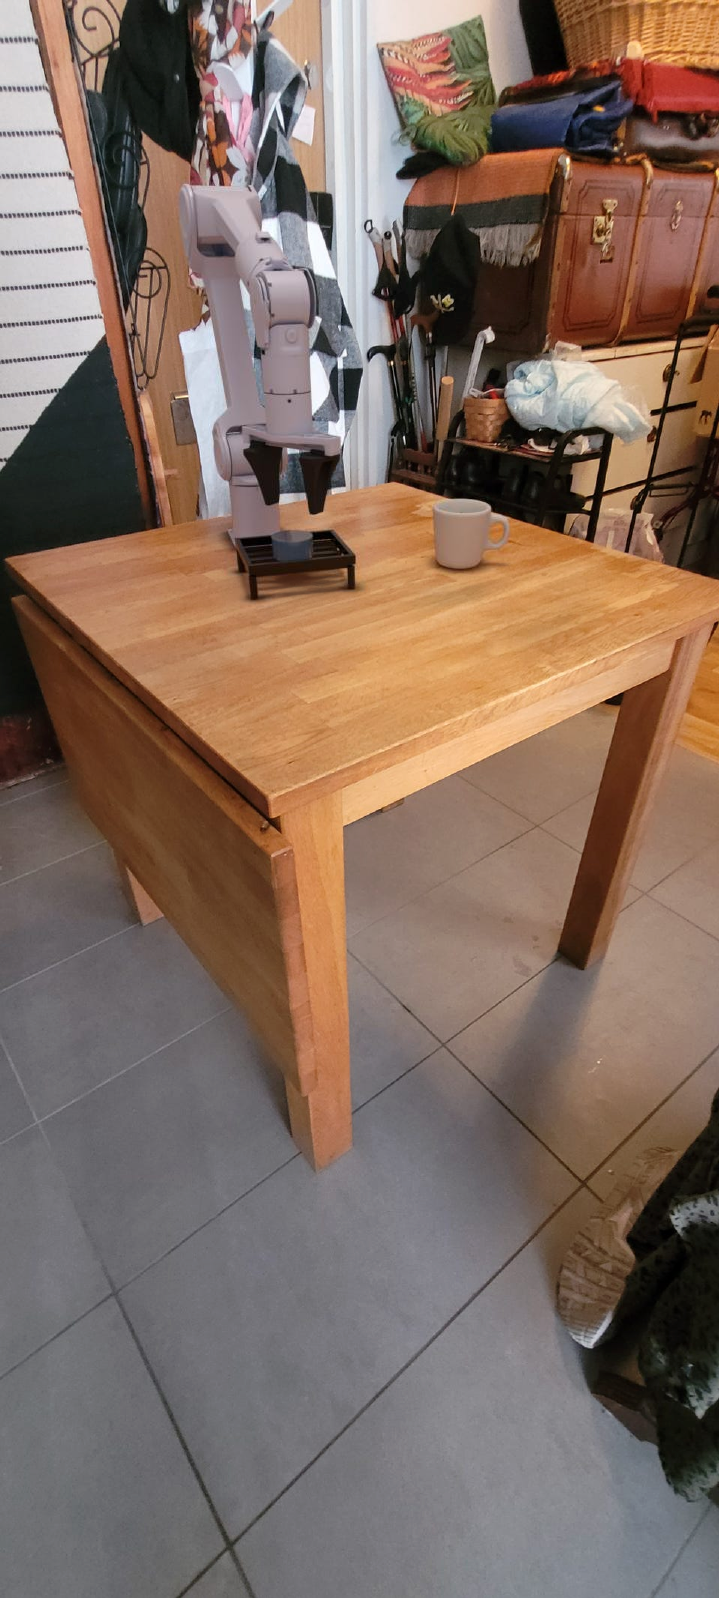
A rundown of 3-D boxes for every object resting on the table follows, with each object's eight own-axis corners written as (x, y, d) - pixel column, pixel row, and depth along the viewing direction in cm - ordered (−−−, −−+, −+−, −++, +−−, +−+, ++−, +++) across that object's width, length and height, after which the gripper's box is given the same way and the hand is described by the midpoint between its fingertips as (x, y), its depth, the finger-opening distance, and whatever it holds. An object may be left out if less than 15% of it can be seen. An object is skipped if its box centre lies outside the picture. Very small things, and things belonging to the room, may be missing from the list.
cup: (504, 556, 112) (510, 499, 108) (507, 574, 106) (514, 514, 101) (430, 554, 113) (433, 497, 108) (429, 572, 107) (432, 513, 102)
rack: (237, 570, 108) (234, 537, 106) (333, 560, 111) (333, 529, 109) (251, 600, 99) (248, 565, 96) (356, 589, 102) (355, 555, 99)
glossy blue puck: (292, 546, 106) (290, 527, 105) (322, 554, 103) (321, 534, 102) (264, 556, 103) (262, 536, 101) (294, 564, 100) (293, 544, 98)
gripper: (355, 391, 91) (356, 509, 99) (265, 383, 98) (273, 493, 106) (318, 399, 87) (322, 522, 94) (226, 389, 94) (237, 504, 102)
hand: (294, 508), depth 100 cm, fingers open, 7 cm apart
